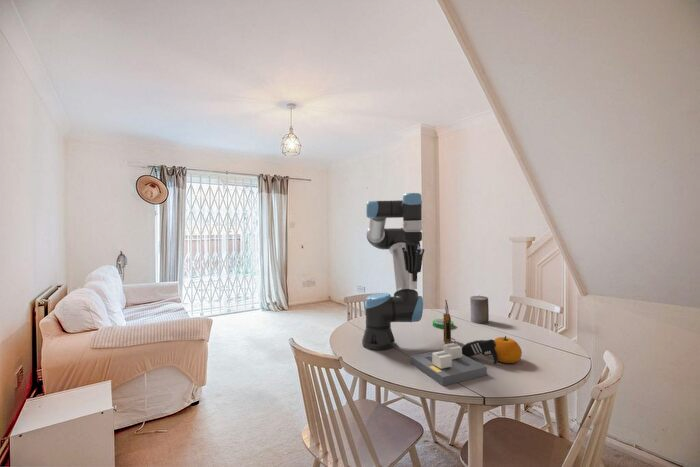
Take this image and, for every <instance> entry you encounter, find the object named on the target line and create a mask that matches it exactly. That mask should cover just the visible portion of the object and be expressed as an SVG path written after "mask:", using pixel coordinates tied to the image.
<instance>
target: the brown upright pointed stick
mask: <svg viewBox="0 0 700 467" xmlns="http://www.w3.org/2000/svg"><path fill="white" fill-rule="evenodd" d="M447 301H448V300H447V299H445V301H444V302H445V308H444V310H445V313H443V314H442V317H443V318H442V319H443V320H444V329H443V343H444V345H445V344H450V343H452V340H454V342H455V343H456V344H458V345H459V346H460V347H463V346H464V345H466V344H465V343H463V342H459V341H456V339H455V338H452V328H451V321H452V317H451V315H450V313H449V305H448V302H447ZM454 342H453V343H454Z"/></svg>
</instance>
